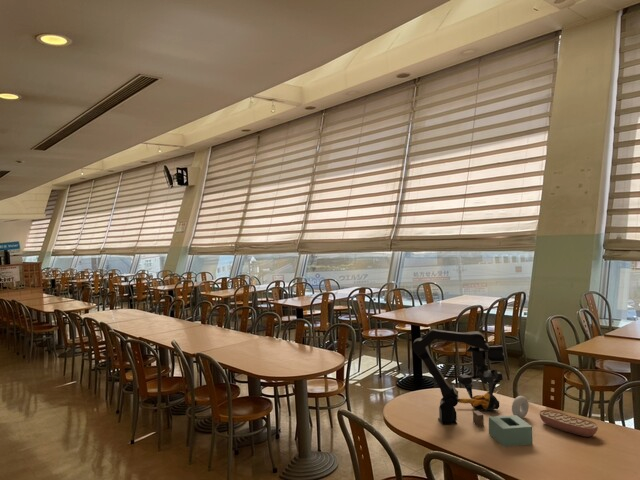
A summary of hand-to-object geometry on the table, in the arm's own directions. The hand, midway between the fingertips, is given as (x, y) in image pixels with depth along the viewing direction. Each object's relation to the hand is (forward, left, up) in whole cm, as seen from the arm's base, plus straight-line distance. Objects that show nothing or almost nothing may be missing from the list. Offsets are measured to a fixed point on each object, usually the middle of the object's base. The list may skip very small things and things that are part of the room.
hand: (481, 397), depth 203 cm
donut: (+20, +4, -12) cm, 23 cm away
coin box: (+5, -15, -12) cm, 20 cm away
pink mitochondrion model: (+32, -11, -12) cm, 36 cm away
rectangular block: (-1, +1, -12) cm, 12 cm away
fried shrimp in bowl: (+7, +18, -12) cm, 23 cm away
